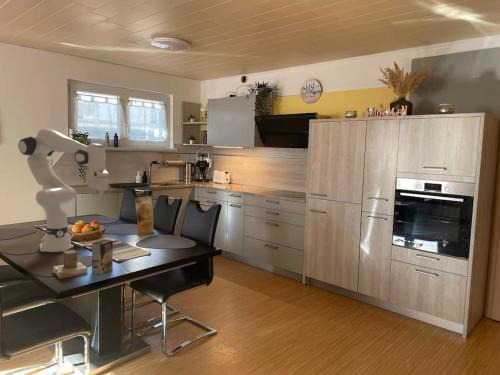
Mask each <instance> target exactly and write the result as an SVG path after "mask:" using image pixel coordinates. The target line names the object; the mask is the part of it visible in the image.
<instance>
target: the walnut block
mask: <svg viewBox="0 0 500 375" xmlns="http://www.w3.org/2000/svg"><path fill="white" fill-rule="evenodd" d="M77 253H78V252H77V251H76V250H74V249H72V250H70V249H69V250H65V251H63V265H64V267H65V268H66V269H70V268H75V267H77V262H78V254H77Z"/></svg>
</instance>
